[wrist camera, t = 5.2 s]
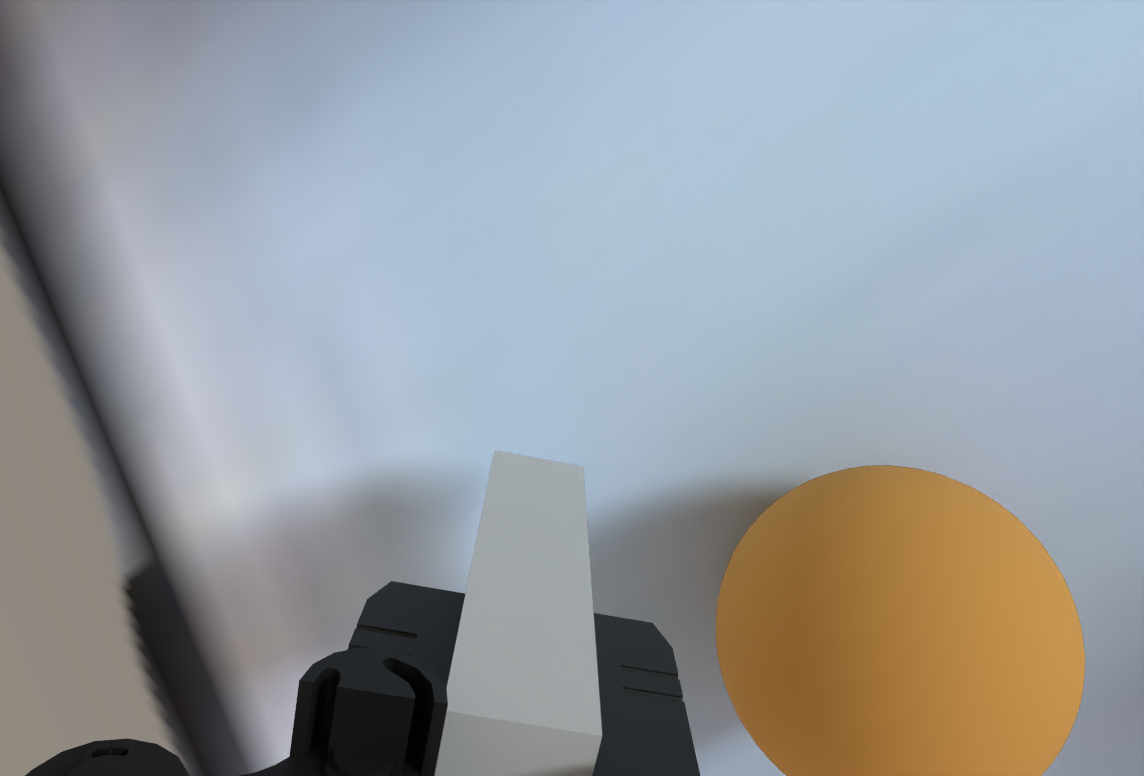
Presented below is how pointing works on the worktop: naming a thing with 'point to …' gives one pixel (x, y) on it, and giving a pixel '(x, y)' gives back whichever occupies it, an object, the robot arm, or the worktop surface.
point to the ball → (898, 631)
